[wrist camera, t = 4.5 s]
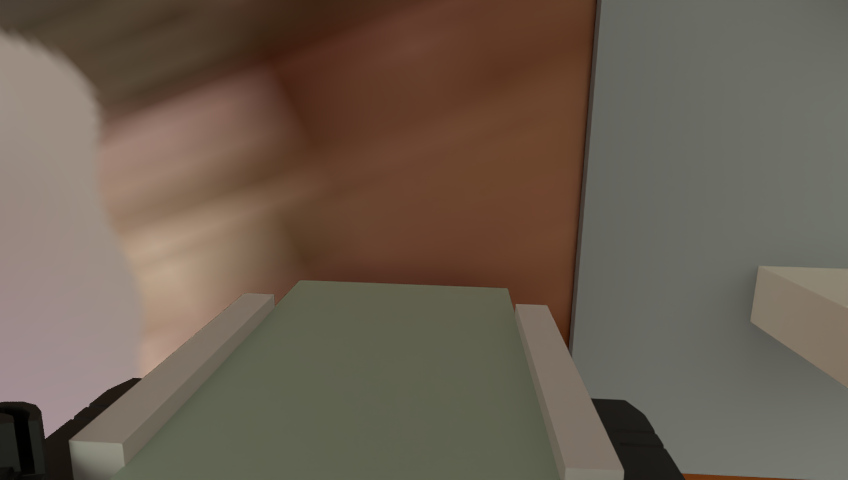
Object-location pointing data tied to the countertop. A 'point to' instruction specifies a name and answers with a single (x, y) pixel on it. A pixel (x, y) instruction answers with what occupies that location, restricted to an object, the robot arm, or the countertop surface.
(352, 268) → the countertop surface
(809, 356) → the ivory domino
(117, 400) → the robot arm
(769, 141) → the domino mat
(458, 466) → the sage domino
